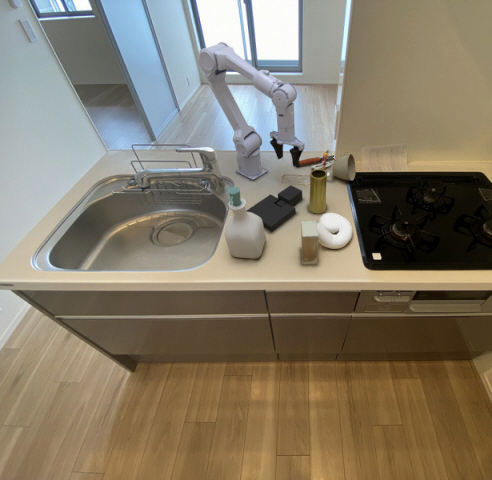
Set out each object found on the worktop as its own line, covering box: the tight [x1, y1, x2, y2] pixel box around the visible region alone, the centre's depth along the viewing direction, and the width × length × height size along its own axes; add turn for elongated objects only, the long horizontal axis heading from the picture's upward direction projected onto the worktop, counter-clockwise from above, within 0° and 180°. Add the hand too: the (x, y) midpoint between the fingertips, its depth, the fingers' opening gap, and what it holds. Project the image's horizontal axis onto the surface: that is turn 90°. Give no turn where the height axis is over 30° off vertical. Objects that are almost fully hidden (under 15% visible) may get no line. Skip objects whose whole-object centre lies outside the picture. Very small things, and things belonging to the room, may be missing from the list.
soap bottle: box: [224, 186, 267, 260], centre depth 77 cm, size 10×10×23 cm
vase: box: [308, 169, 328, 214], centre depth 94 cm, size 6×6×14 cm
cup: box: [331, 153, 356, 182], centre depth 109 cm, size 10×10×7 cm
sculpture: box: [317, 212, 354, 250], centre depth 87 cm, size 12×15×8 cm
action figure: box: [321, 149, 331, 178], centre depth 111 cm, size 12×3×9 cm, turn 169°
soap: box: [310, 161, 333, 170], centre depth 117 cm, size 10×4×1 cm, turn 129°
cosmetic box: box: [300, 219, 319, 265], centre depth 79 cm, size 6×4×12 cm
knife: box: [296, 154, 335, 168], centre depth 120 cm, size 26×3×5 cm
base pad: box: [246, 194, 297, 233], centre depth 96 cm, size 12×12×2 cm
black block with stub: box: [276, 184, 303, 207], centre depth 100 cm, size 6×10×4 cm, turn 140°
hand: (287, 161), depth 103 cm, fingers open, 7 cm apart
